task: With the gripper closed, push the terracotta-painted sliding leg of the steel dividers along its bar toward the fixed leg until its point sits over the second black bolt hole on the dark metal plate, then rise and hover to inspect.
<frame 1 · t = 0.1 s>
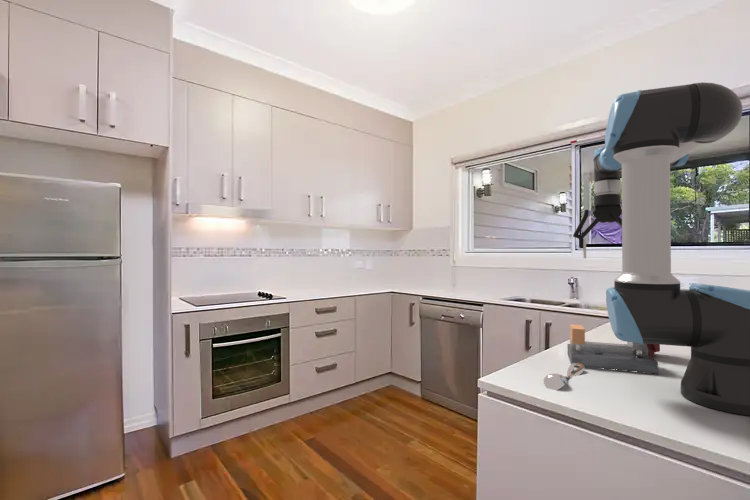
hand: (607, 258, 128), 28 cm above the worktop, tool pointing down, fingers open, 13 cm apart
grey spoon: (566, 380, 92), on the worktop
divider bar: (607, 362, 106), resting on hole plate
sliding leg: (577, 337, 108), point 6 cm above the worktop, slide at 0.0 cm
hole plate: (608, 363, 105), on the worktop
mechanical component: (645, 355, 113), on the worktop
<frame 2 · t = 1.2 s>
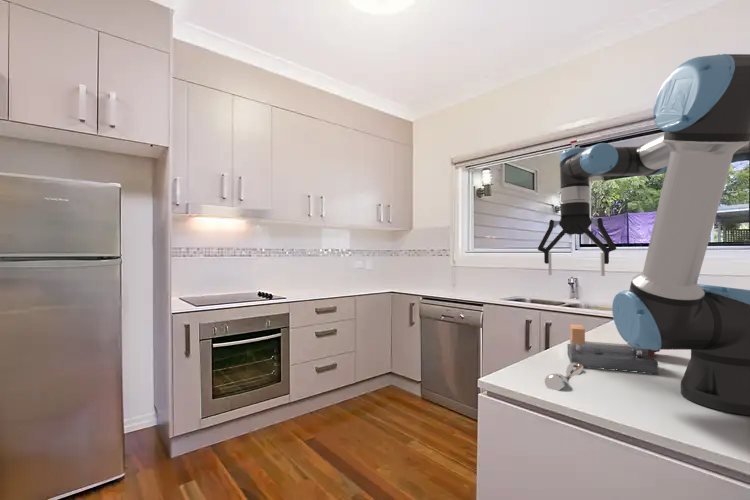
hand: (575, 275, 113), 23 cm above the worktop, tool pointing down, fingers open, 13 cm apart
nothing on the worktop moved.
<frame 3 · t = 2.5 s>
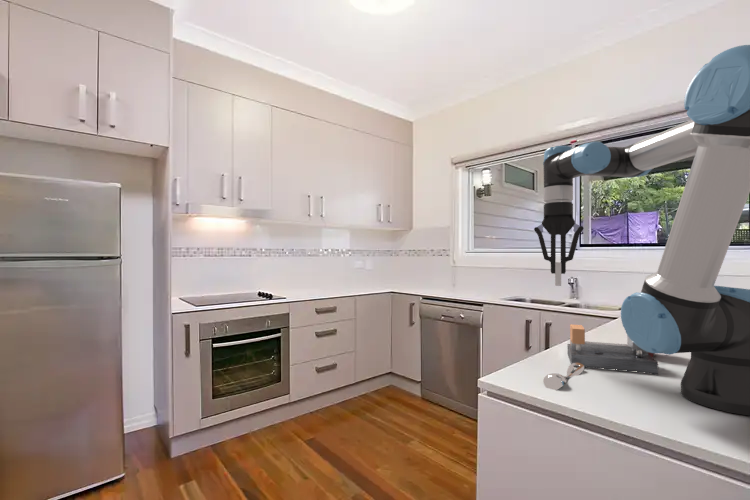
hand: (558, 285, 110), 21 cm above the worktop, tool pointing down, fingers closed
nothing on the worktop moved.
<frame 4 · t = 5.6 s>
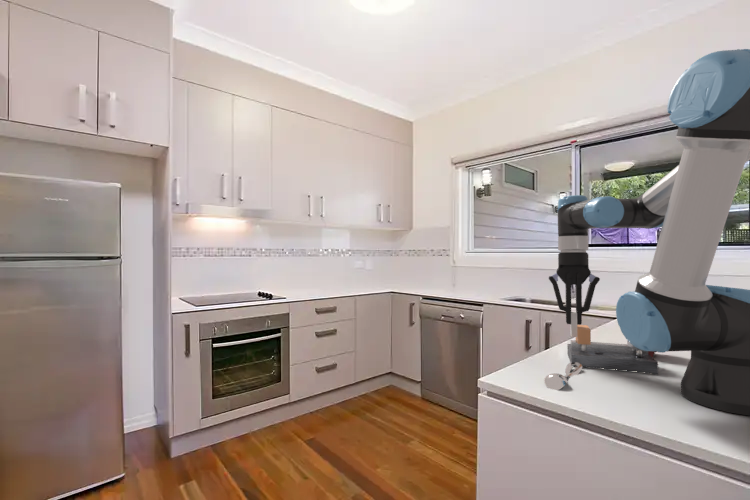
hand: (573, 336, 108), 7 cm above the worktop, tool pointing down, fingers closed
sliding leg: (582, 338, 107), point 6 cm above the worktop, slide at 1.4 cm, touching gripper
everything else where it was.
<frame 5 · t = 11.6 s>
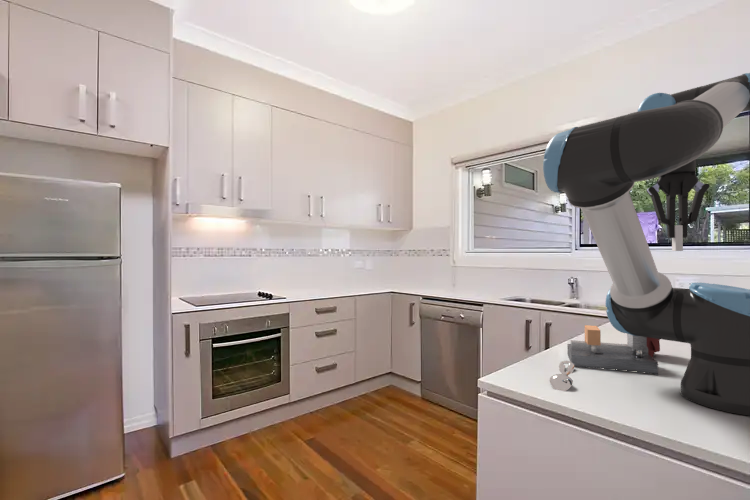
hand: (677, 250, 99), 30 cm above the worktop, tool pointing down, fingers closed
sliding leg: (592, 338, 106), point 6 cm above the worktop, slide at 3.7 cm
at the end: sliding leg slide at 3.7 cm; sliding leg 1.3 cm from the target spot, resting on hole plate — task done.
